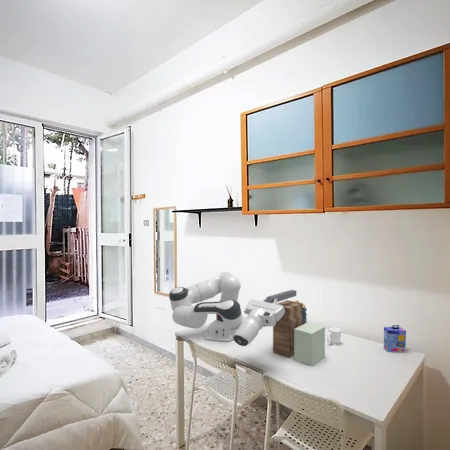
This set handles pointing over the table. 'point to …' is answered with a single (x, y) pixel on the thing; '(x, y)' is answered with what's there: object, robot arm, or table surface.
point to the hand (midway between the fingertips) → (272, 298)
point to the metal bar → (281, 296)
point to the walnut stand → (287, 328)
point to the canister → (304, 313)
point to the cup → (334, 335)
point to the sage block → (309, 343)
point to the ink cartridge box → (394, 339)
